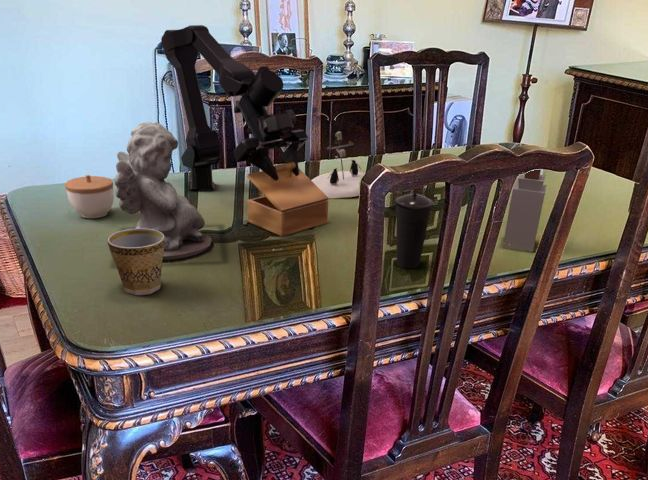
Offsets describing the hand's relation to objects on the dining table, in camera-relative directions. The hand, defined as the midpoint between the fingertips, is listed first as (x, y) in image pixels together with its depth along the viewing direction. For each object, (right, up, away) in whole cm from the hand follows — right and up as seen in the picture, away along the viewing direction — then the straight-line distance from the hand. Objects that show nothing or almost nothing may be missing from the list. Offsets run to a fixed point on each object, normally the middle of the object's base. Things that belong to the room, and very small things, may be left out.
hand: (287, 177), depth 149 cm
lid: (0, -2, +1) cm, 3 cm away
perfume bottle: (+53, -16, -2) cm, 56 cm away
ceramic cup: (-26, -28, -27) cm, 47 cm away
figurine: (+13, +5, +31) cm, 34 cm away
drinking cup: (+27, -22, -14) cm, 37 cm away
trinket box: (-47, -8, +6) cm, 48 cm away
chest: (0, -9, +6) cm, 11 cm away
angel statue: (-25, -17, -9) cm, 32 cm away
